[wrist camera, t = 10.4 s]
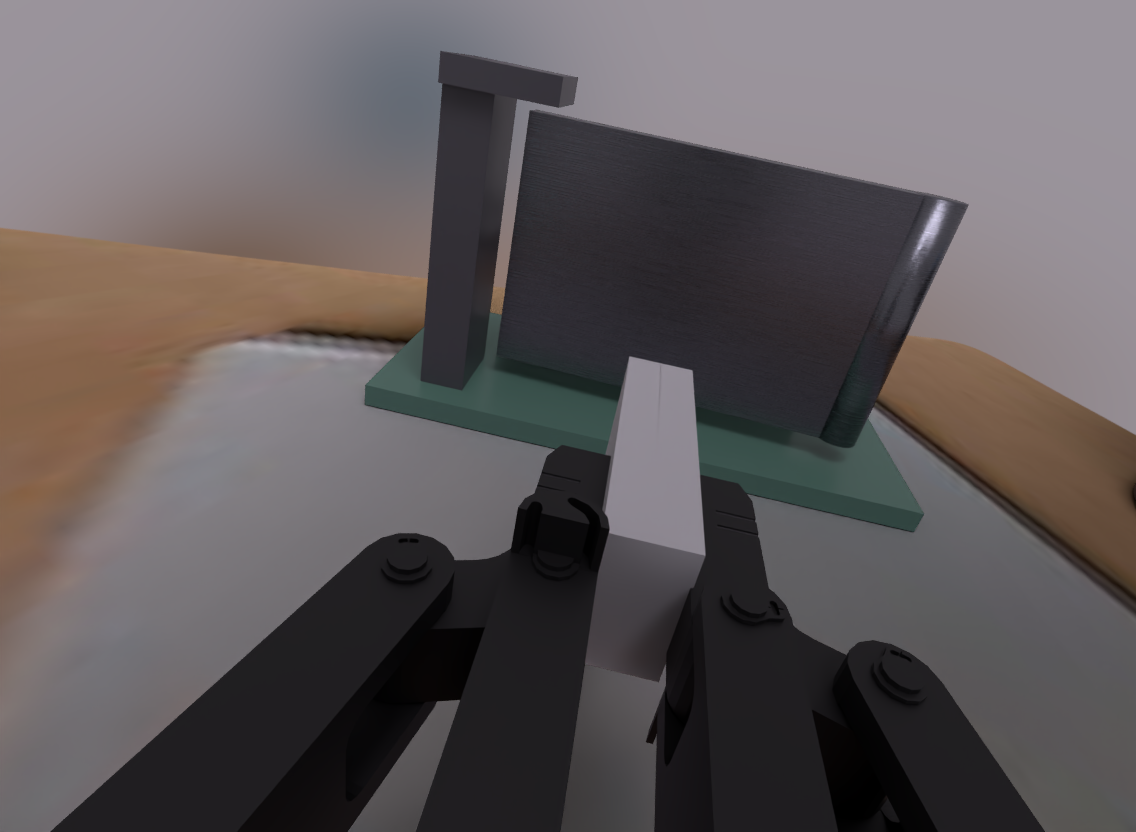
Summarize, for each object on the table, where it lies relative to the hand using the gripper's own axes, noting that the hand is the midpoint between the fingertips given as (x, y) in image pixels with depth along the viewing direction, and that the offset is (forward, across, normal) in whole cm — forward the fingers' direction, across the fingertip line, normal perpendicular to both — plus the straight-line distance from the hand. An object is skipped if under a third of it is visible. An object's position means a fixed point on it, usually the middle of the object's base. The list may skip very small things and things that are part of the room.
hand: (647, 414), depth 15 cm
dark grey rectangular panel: (+15, +2, -6) cm, 16 cm away
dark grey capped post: (+14, -7, -7) cm, 17 cm away
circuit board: (+17, +1, -8) cm, 18 cm away
